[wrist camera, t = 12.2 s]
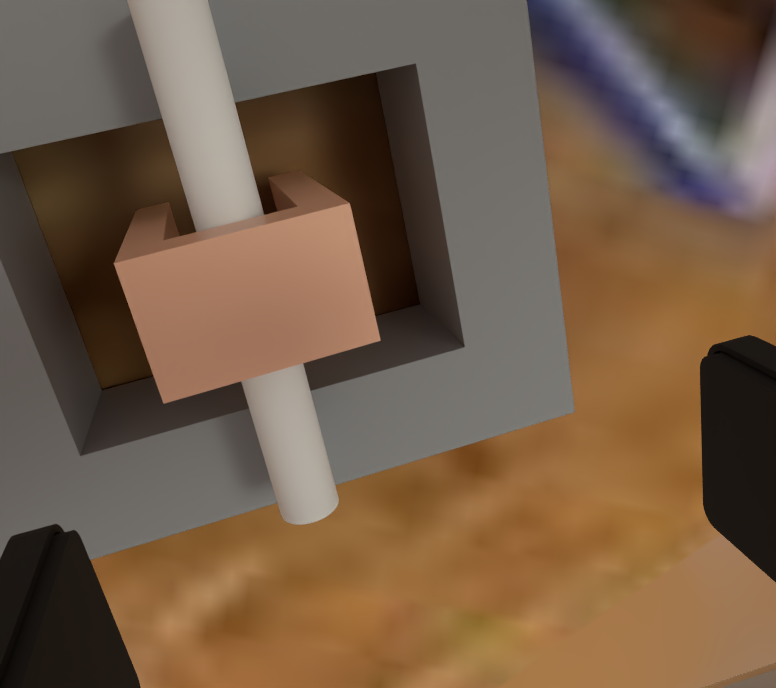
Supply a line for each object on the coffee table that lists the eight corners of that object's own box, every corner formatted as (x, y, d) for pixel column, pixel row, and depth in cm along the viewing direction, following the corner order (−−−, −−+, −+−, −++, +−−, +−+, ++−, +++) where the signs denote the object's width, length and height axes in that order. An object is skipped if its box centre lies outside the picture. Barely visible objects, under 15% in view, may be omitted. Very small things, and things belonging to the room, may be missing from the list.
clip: (298, 170, 28) (349, 203, 19) (323, 268, 30) (380, 340, 21) (136, 209, 27) (113, 263, 18) (169, 310, 29) (163, 403, 20)
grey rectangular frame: (453, -62, 28) (567, -132, 19) (515, 361, 35) (621, 451, 26) (-157, 55, 25) (-352, 34, 16) (38, 499, 31) (-24, 656, 23)
